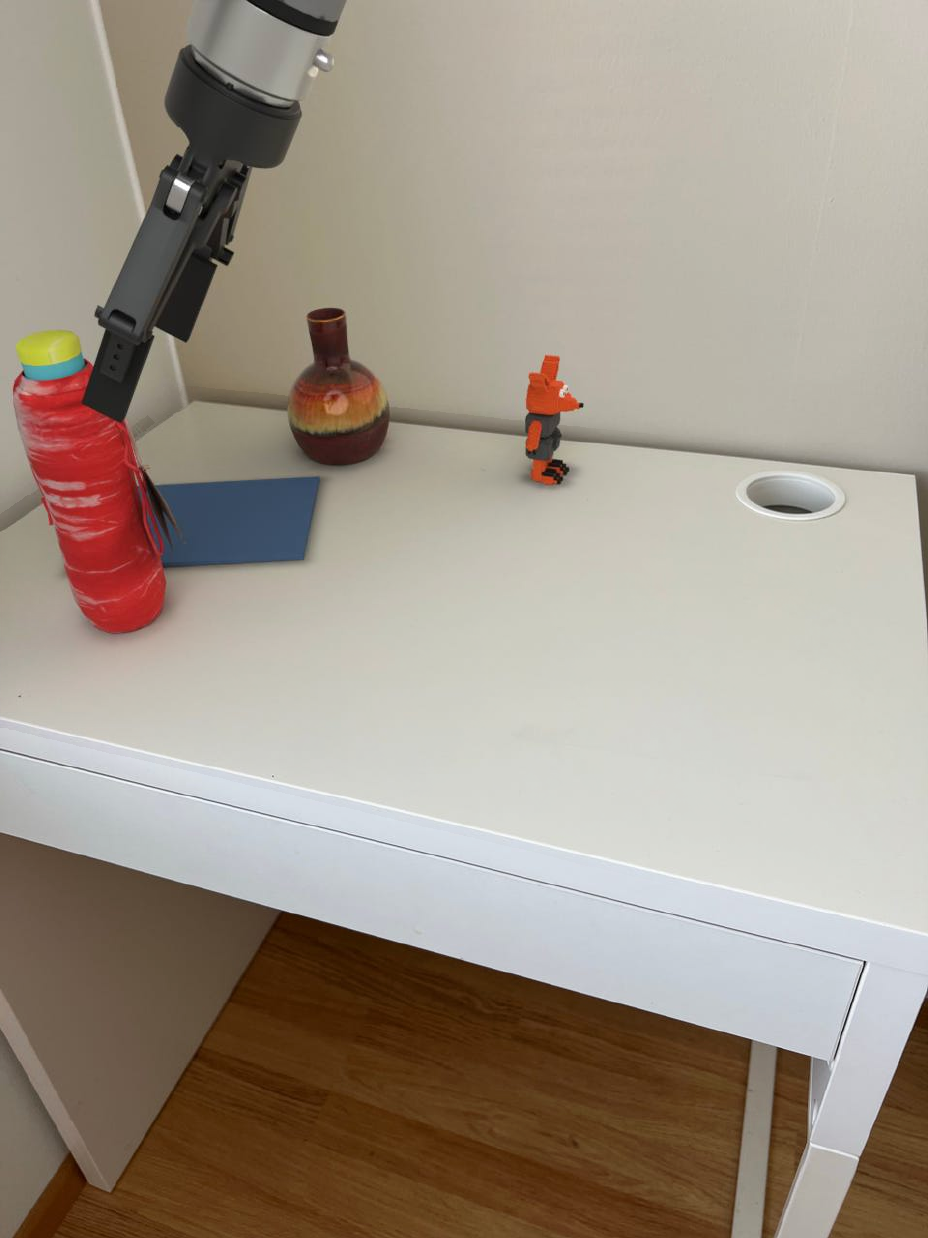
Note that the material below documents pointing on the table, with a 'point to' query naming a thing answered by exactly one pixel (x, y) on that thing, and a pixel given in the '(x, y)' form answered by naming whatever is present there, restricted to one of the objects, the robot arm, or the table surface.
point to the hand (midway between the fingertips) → (139, 369)
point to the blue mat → (237, 520)
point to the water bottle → (90, 486)
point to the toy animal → (546, 421)
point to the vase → (336, 398)
